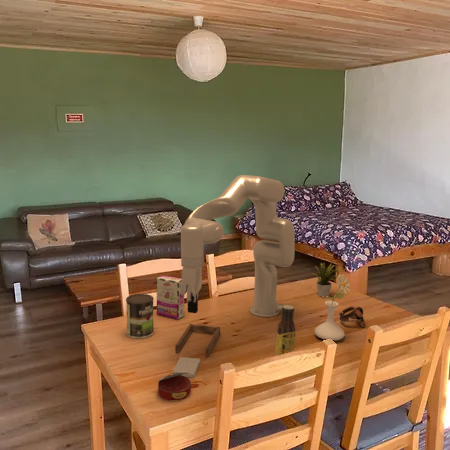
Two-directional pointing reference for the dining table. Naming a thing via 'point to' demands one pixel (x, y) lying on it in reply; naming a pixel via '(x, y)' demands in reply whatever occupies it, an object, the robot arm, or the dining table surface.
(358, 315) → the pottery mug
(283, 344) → the sauce bottle
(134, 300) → the coffee can
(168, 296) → the candy bar box
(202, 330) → the brown u-shaped frame
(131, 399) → the dining table surface
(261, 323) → the dining table surface
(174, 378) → the canned food
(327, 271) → the house plant
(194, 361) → the cover plate
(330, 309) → the flower in vase
